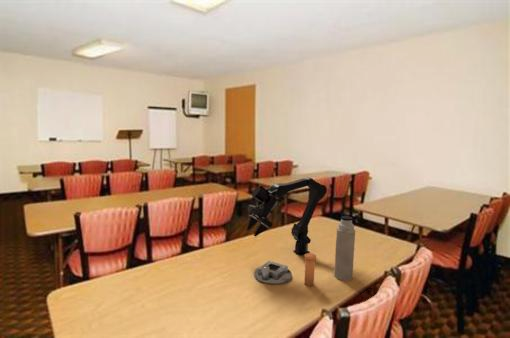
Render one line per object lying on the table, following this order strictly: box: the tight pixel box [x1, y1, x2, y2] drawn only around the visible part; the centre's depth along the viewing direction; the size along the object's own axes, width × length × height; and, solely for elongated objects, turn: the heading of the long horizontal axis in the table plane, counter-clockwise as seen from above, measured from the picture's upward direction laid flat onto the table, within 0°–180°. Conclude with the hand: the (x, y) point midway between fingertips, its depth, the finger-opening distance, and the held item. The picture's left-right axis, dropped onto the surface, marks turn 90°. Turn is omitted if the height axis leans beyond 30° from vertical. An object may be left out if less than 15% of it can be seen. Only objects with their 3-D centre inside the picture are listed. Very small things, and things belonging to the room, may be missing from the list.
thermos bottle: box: [333, 215, 356, 282], centre depth 144 cm, size 8×8×28 cm
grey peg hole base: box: [253, 260, 293, 286], centre depth 146 cm, size 17×17×6 cm
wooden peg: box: [303, 252, 317, 287], centre depth 138 cm, size 5×5×13 cm
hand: (250, 233), depth 159 cm, fingers open, 9 cm apart
